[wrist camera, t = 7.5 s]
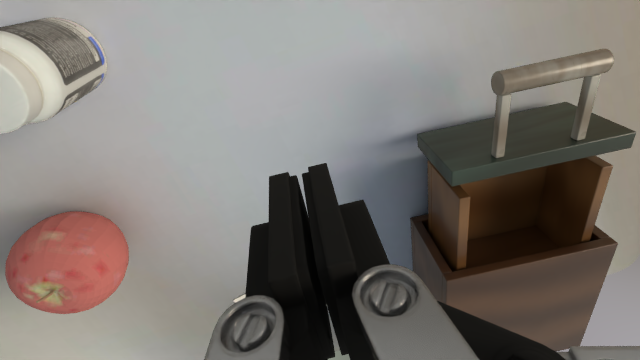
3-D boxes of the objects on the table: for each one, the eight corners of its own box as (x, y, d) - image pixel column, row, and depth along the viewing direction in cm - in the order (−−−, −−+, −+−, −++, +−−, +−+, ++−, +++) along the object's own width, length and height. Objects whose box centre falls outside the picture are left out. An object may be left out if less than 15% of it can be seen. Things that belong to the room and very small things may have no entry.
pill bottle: (21, 8, 21) (-108, 25, 14) (106, 27, 22) (27, 52, 15) (33, 84, 23) (-72, 133, 16) (110, 98, 24) (43, 149, 17)
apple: (33, 240, 29) (-39, 319, 23) (63, 178, 27) (-7, 246, 20) (121, 272, 32) (81, 351, 26) (156, 218, 30) (121, 291, 23)
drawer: (414, 61, 25) (454, 85, 19) (582, 25, 25) (667, 40, 19) (420, 247, 34) (448, 298, 29) (541, 221, 34) (591, 266, 29)
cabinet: (410, 217, 33) (446, 281, 26) (546, 187, 33) (618, 243, 26) (414, 307, 40) (444, 376, 33) (527, 282, 40) (580, 346, 34)
